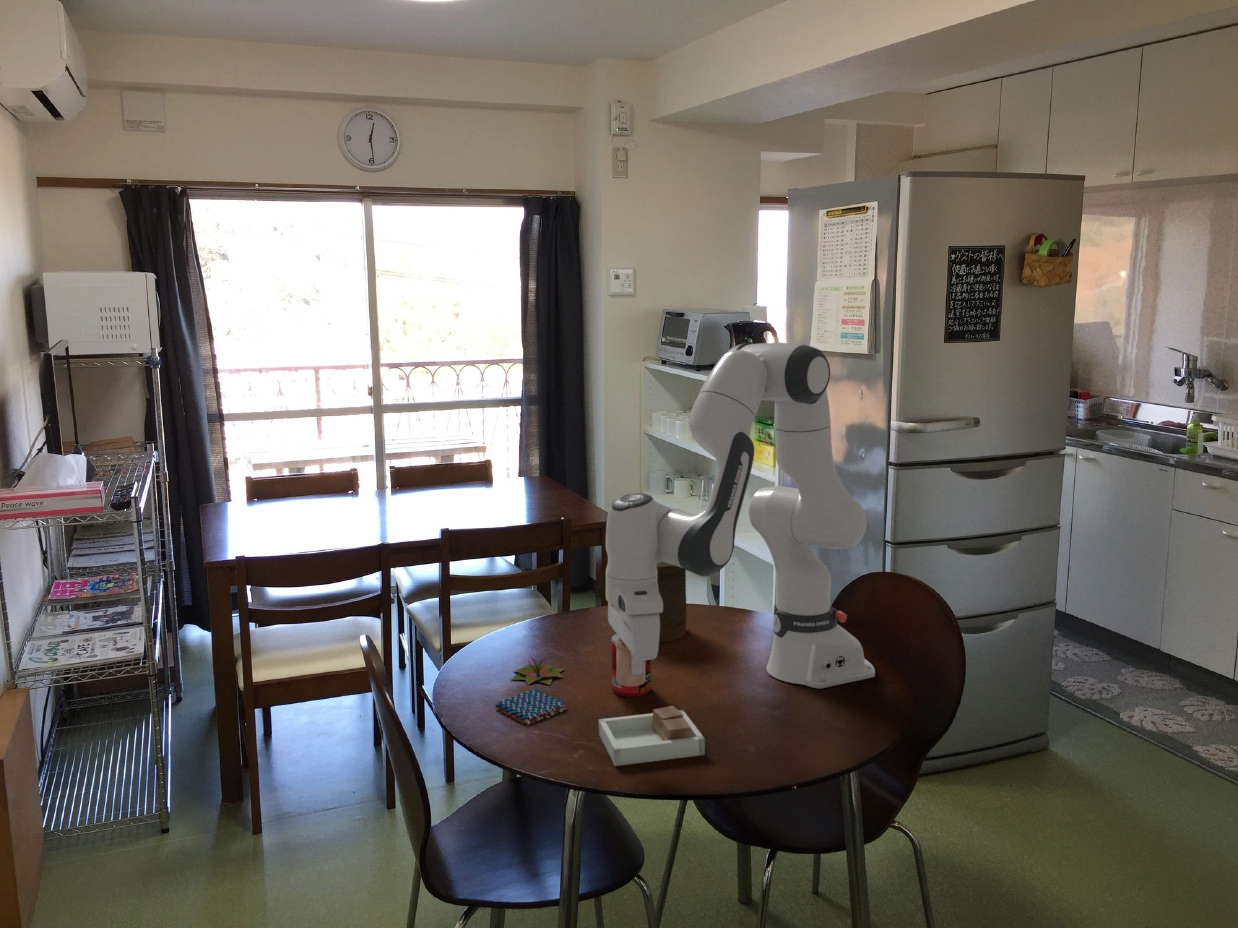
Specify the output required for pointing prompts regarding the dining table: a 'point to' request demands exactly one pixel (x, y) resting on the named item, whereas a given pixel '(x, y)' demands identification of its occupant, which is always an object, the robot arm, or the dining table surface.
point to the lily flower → (537, 672)
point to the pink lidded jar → (627, 667)
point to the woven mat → (530, 706)
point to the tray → (645, 740)
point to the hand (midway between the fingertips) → (631, 666)
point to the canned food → (629, 690)
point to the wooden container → (672, 601)
